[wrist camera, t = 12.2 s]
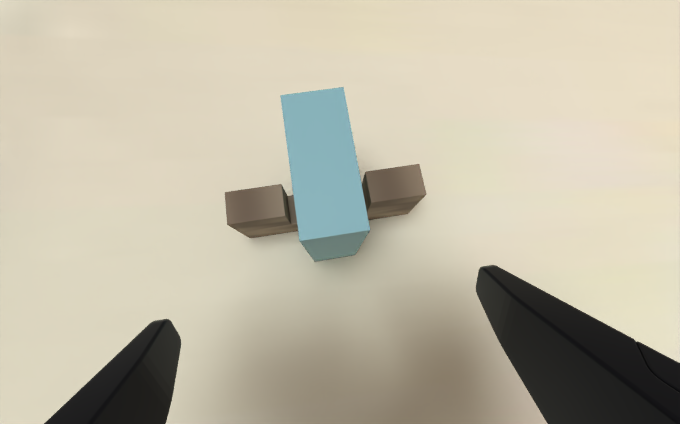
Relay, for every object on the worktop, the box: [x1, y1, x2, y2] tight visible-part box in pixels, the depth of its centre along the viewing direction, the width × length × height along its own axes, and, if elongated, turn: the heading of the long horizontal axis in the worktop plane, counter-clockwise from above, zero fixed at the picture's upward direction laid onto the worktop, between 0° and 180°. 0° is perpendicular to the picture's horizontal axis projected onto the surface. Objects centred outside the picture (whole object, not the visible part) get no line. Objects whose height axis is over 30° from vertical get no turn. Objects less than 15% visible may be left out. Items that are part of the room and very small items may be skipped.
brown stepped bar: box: [225, 164, 426, 238], centre depth 21 cm, size 12×2×5 cm, turn 99°
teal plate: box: [281, 87, 370, 261], centre depth 19 cm, size 7×3×10 cm, turn 9°
